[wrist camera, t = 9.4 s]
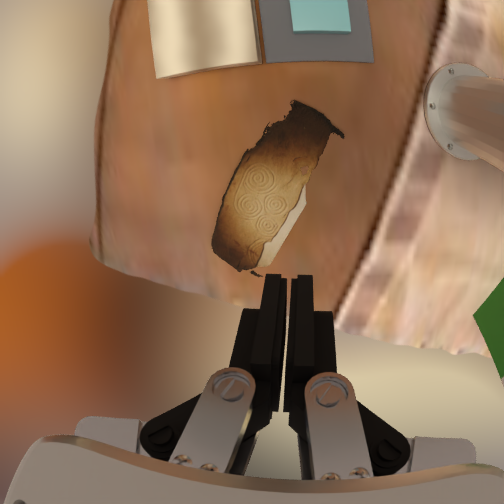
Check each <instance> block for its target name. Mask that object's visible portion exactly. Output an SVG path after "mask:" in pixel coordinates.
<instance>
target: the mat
mask: <svg viewBox="0 0 504 504" xmlns="http://www.w3.org/2000/svg"><path fill="white" fill-rule="evenodd" d="M347 2H348V9H349V17H350V25H351V32H350V33H349V34H322V33H309V34H294V33H293V24H292V16H291V8H290V0H259V7H260V15H261V23H262V31H263V39H264V47H265V56H266V63H279V62H298V61H347V62H366V63H374V57H373V46H372V36H371V28H370V20H369V13H368V6H367V0H347Z"/></svg>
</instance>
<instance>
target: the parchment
mask: <svg viewBox="0 0 504 504" xmlns="http://www.w3.org/2000/svg"><path fill="white" fill-rule="evenodd" d="M293 101H294V103H293V104H290V105H291V106H292V110H291V111H289V114H288V115H287V117H286V116H285V115H284V119H285V117H286V119H285V120H283V121H278V122H276V123H273V125H272V124H271V125H272V126H271V127H269V126H268V125H267V126H266V128H265V130H264V132H267V133H266V134H265V133H264V132H263V136H262V138H261V139H260V140H259V141H258V142H257V144H256V146H255V147H254V148H252V149H250V150H249V151H246V152H245V153H244V155H243V157H242V159H241V162H240V163H239V165H238V167H237V168H236V170H235V172H234V175H233V177H232V179H231V181H230V183H229V186H228V188H227V190H226V192H225V195H224V196H223V199H222V205H221V207H220V211H219V213H218V217H217V223H216V226H215V231H214V234H213V237H212V243H211V244H212V247H213V248H212V249H213V251H214V253H215V254H217V255H218V256H219V257H220V258H221V259H222V260H224V261H226V262H227V263H228V264H230V265H231V266H233V267H234V268H235V269H237V271H238V272H241V271H242V269H243V270H249V269H252V268H255V267H258V266H259V267H266V266H269V265H270V264H271V262H272V260H273V259H274V257H275V256H276V254H277V252H278V250H279V249H280V247H281V245H282V244H283V242H284V240H285V239H286V237H287V235H288V234H289V232H290V230H291V228H292V227H293V225H294V223H295V222H296V220H297V218H298V217H299V215H300V214H301V212H302V210H303V208H304V207H305V205H306V203H307V202H306V196H305V184H306V183H307V182H308V181H309V179H310V176H311V172H312V170H314V169H315V168H316V166H317V164H318V161H319V156H320V155H321V154H323V151H324V148H325V146H326V144H327V140H328V139H329V136H330V133H332V132H334V133H336V134H337V135H340V136H341V138H343V139H344V134H343V133H342V132H341V131H339V129H337V128H336V127H334V126H333V125H332V124H331V122H330V120H328V119H327V118H326V117H325V116H324V114H322V113H320V112H318V111H317V110H315V109H313V108H311V107H309V106H307V105H305V104H302V103H300V102H298V101H295V100H293ZM291 102H292V101H291ZM291 102H290V103H291ZM268 124H269V123H268ZM266 130H267V131H266ZM334 133H333V134H334ZM264 135H265V136H264ZM247 150H248V149H247ZM303 166H308V167H309V169H308V170H307V174H304V175H303V176H302V171H301V167H303ZM251 274H254V275H255V276H258V277H260V276H261V275H259V274H258V275H257V273H255V272H254V271H251ZM261 277H263V276H261Z"/></svg>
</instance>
